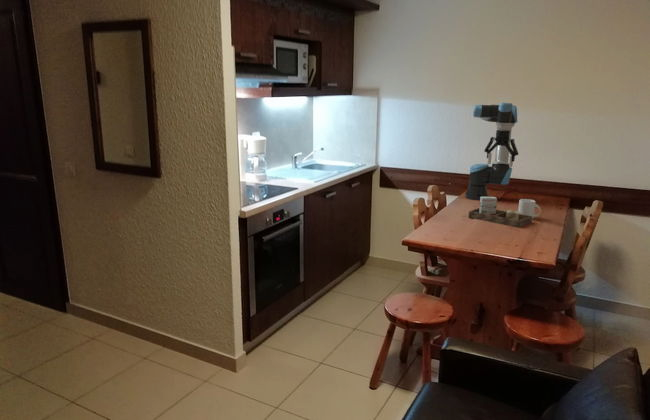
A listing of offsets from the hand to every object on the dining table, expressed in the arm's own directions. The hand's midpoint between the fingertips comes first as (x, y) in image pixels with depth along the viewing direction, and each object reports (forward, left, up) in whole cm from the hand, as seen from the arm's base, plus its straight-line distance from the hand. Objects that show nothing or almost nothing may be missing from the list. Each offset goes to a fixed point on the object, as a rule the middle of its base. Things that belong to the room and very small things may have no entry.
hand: (499, 165), depth 288 cm
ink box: (+4, -19, -28) cm, 34 cm away
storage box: (+12, -19, -28) cm, 36 cm away
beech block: (+19, -19, -28) cm, 39 cm away
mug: (+22, -3, -29) cm, 36 cm away
